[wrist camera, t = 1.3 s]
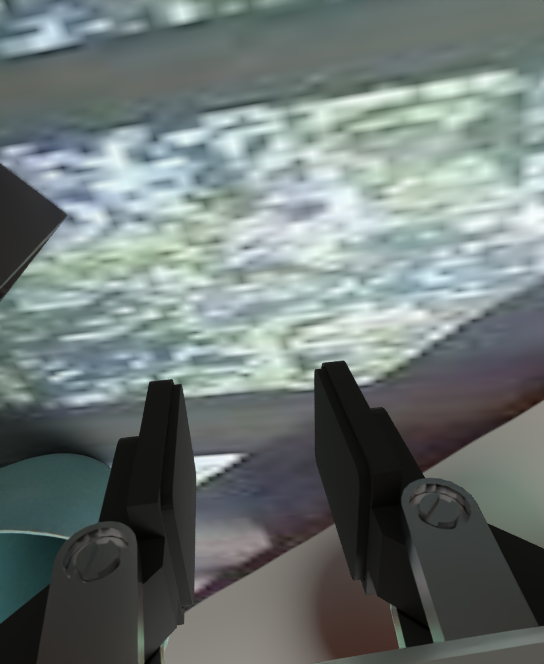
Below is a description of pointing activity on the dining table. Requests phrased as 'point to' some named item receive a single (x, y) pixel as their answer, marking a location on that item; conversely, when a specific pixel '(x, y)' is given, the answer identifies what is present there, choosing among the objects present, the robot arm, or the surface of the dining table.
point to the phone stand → (22, 226)
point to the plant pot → (43, 519)
